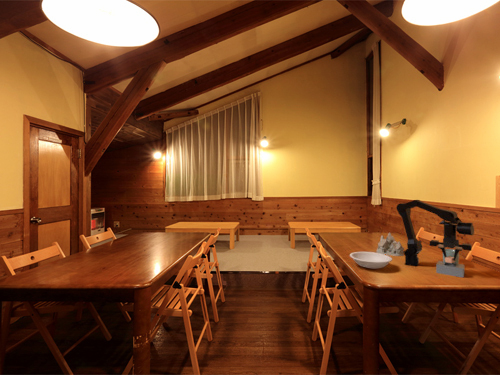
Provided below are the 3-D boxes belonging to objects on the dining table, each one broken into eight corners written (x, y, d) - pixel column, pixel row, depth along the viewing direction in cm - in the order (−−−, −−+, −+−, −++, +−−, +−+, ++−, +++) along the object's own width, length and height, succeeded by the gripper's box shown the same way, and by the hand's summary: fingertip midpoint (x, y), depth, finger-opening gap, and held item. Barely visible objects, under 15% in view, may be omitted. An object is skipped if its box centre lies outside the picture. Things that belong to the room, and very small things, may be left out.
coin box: (436, 272, 147) (436, 264, 147) (438, 268, 154) (438, 260, 154) (463, 277, 139) (463, 268, 139) (464, 273, 146) (464, 264, 146)
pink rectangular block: (445, 261, 146) (445, 257, 146) (448, 260, 149) (448, 256, 149) (451, 263, 144) (451, 258, 144) (455, 261, 146) (455, 257, 146)
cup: (440, 265, 160) (440, 249, 160) (447, 263, 164) (447, 248, 164) (454, 269, 153) (453, 252, 153) (461, 267, 156) (461, 251, 156)
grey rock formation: (373, 250, 199) (374, 231, 198) (394, 251, 199) (395, 232, 198) (384, 257, 183) (385, 236, 182) (407, 258, 183) (408, 237, 182)
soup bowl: (350, 271, 152) (350, 260, 152) (349, 260, 175) (349, 250, 175) (396, 275, 144) (395, 263, 144) (388, 263, 166) (388, 253, 166)
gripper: (427, 232, 147) (428, 259, 147) (470, 237, 134) (471, 266, 134) (430, 230, 155) (431, 255, 155) (471, 233, 142) (471, 261, 142)
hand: (450, 259), depth 146 cm, fingers closed on pink rectangular block, 3 cm apart
